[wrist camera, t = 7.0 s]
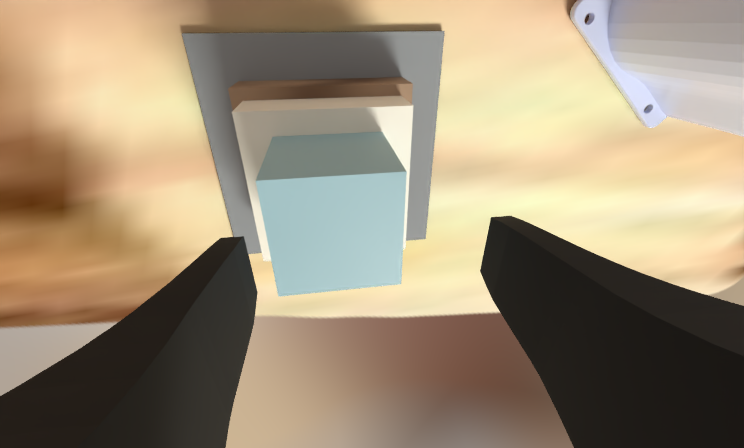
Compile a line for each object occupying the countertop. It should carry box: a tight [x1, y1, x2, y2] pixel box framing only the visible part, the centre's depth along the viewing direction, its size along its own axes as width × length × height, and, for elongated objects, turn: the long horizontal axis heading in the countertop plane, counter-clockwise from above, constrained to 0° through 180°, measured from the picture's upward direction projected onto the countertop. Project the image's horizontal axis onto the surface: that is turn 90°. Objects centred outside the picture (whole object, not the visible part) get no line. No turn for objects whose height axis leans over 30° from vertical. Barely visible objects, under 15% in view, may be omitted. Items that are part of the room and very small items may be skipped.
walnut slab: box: [228, 77, 413, 110], centre depth 18 cm, size 8×8×2 cm
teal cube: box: [256, 132, 407, 296], centre depth 13 cm, size 4×4×4 cm
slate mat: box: [182, 31, 444, 254], centre depth 19 cm, size 12×12×1 cm
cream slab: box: [232, 96, 413, 261], centre depth 16 cm, size 7×7×2 cm
